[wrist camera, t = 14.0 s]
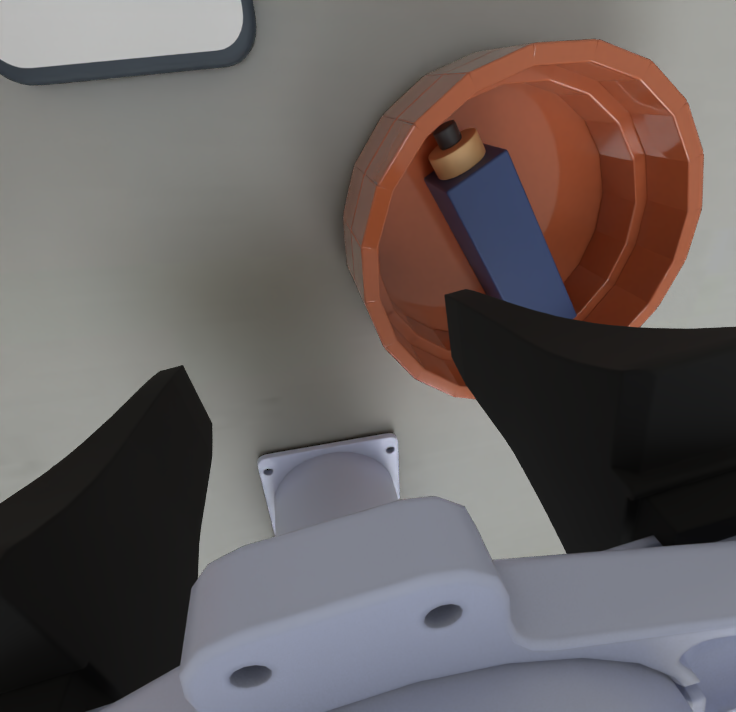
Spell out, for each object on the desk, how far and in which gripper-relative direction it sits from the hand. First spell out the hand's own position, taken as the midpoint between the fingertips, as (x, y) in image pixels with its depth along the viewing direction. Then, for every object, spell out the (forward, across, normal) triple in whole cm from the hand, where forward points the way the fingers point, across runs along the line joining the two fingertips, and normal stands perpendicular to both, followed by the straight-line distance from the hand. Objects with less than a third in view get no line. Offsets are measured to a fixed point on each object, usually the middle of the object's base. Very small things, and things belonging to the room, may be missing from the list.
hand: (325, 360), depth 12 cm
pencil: (+9, -8, +1) cm, 12 cm away
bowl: (+9, -8, +1) cm, 13 cm away
